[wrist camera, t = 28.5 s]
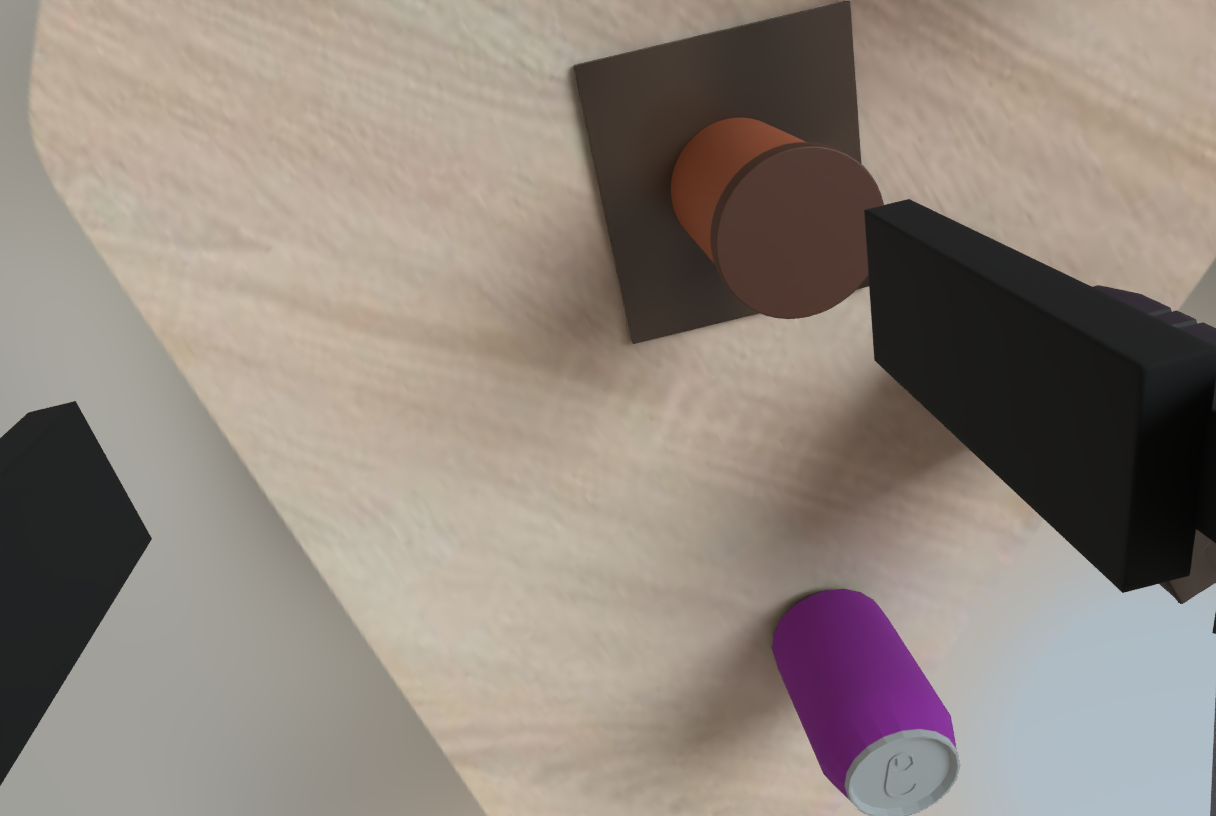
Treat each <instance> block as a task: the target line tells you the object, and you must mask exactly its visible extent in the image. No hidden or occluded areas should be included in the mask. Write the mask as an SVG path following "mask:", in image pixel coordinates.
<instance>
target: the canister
mask: <svg viewBox="0 0 1216 816" xmlns="http://www.w3.org/2000/svg"><path fill="white" fill-rule="evenodd" d="M671 199H672V204H673V208H674V211H675V214H676V216H677V218H678V220H679V222H680V224H681V225H682V226H683V228H684V229H685V230H686V231H687V233H688V234H689V235H690V236H691V237H692V238H693V240H694V241H695V242H696V243H697V244H698V245H699V247H700V248H701V249H702V250H703V251H704V252H705V254H706V255H707V256H708V257H709V258H710V259H711V261H712V262H713V263H714V264H715V266H716V269H717V271H718V273H719V275H720V277H721V279H722V280H723V282H724V283H725V284H726V286H727V287H728V288H729V290H730V291H731V292H732V293H733V294H734V295H735V296H736V297H737V298H738V299H739V300H740V301H741V302H742V303H743V304H745V305H746V306H747V307H749V308H751V309H752V310H754V311H756V312H758V313H761V314H764V315H766V316H770V317H775V318H783V319H795V318H803V317H809V316H812V315H816V314H819V313H822V312H824V311H826V310H828V309H831V308H832V307H834V306H836V305H837V304H839V303H841V302H842V301H843V300H845V299H846V298H847V297H849V296H850V295H851V294H852V293H853V292H854V291H855V290H856V289H857V288H858V287H859V286H860V285H861V284H862V282H863V281H864V280H865V279H866V277H867V276H868V274H869V273H868V258H867V244H866V230H865V215H864V210H866V209H870V208H875V207H879V206H883V205H884V203H883V200H882V196H881V193H880V191H879V188H878V186H877V184H876V182H875V181H874V179H873V177H872V176H871V174H870V173H869V172H868V171H867V170H866V168H865V167H864V166H863V165H861V164H860V163H859V162H858V161H857V160H856V159H854V158H852V157H851V156H849V155H848V154H846V153H843V152H841V151H839V150H836V149H834V148H832V147H830V146H826V145H822V144H819V143H810V142H806V141H803V140H801V139H799V138H797V137H795V136H792V135H790V134H788V133H786V132H784V131H781V130H779V129H777V128H775V127H773V126H770V125H768V124H766V123H764V122H761V121H759V120H755V119H751V118H743V117H741V118H729V119H724V120H721V121H718V122H715V123H713V124H711V125H709V126H707V127H706V128H704V129H703V130H701V131H700V132H699V133H697V134H696V135H695V136H694V137H693V138H692V139H691V140H690V141H689V142H688V143H687V145H686V146H685V147H684V149H683V150H682V152H681V154H680V155H679V157H678V159H677V162H676V164H675V167H674V170H673V174H672V180H671Z"/></svg>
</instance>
